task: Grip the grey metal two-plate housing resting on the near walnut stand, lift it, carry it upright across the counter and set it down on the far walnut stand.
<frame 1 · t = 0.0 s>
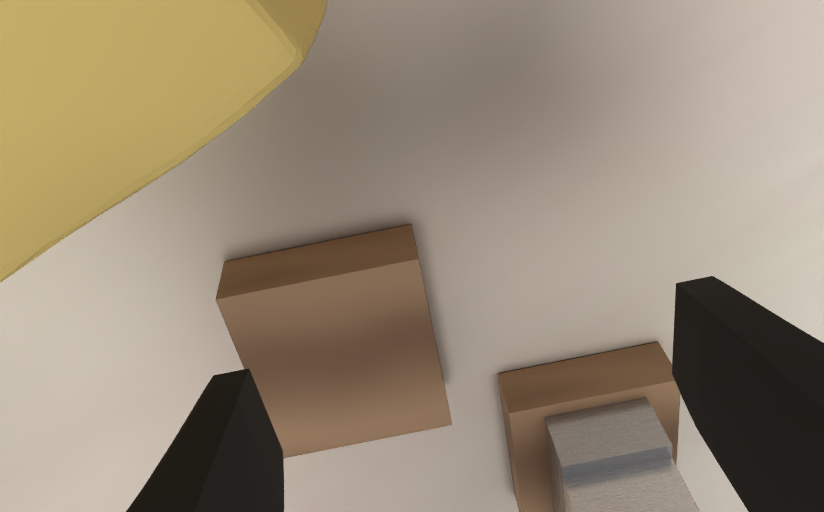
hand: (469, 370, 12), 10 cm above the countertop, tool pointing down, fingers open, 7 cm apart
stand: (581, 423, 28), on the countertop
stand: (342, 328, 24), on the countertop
housing: (597, 463, 26), point 2 cm above the countertop, touching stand
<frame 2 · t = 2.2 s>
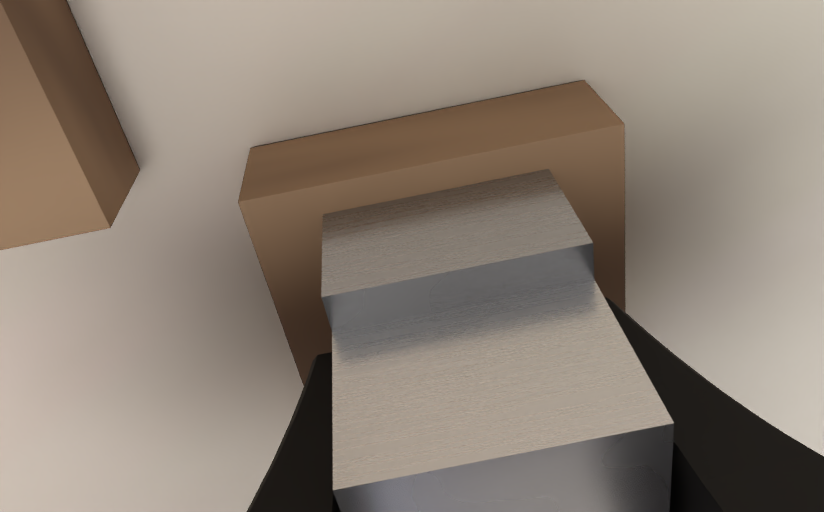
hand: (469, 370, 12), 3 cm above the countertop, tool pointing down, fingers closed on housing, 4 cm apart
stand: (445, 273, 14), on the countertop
housing: (460, 336, 13), point 2 cm above the countertop, touching gripper, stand
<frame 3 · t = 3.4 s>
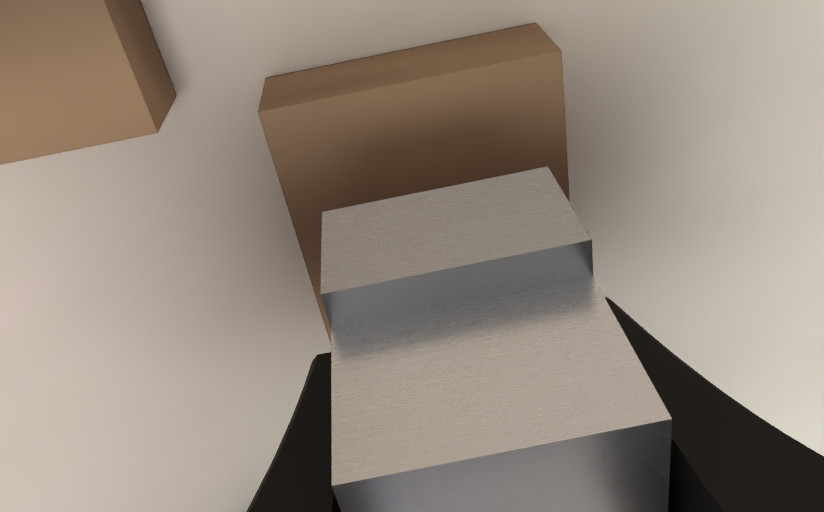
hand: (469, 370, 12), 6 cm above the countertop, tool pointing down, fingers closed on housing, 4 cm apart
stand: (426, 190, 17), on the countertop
housing: (460, 334, 13), point 6 cm above the countertop, touching gripper
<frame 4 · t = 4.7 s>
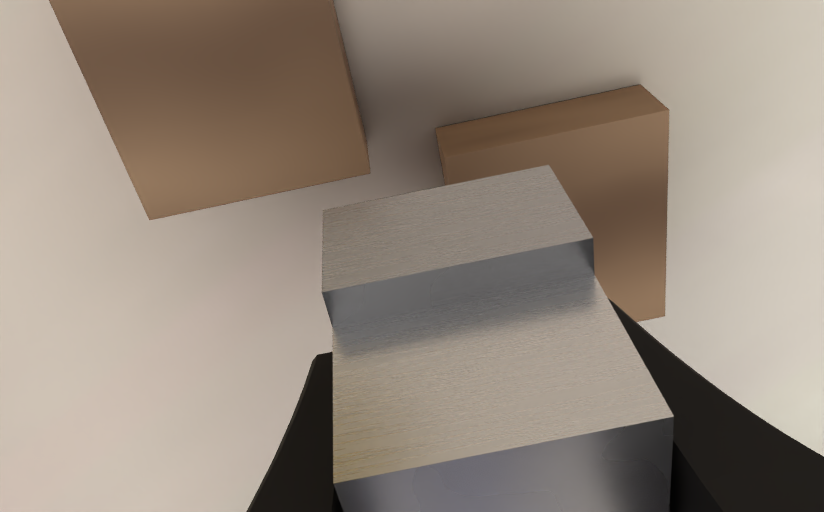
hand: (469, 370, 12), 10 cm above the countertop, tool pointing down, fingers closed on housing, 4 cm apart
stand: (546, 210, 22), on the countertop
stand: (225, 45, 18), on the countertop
housing: (461, 332, 13), point 9 cm above the countertop, touching gripper
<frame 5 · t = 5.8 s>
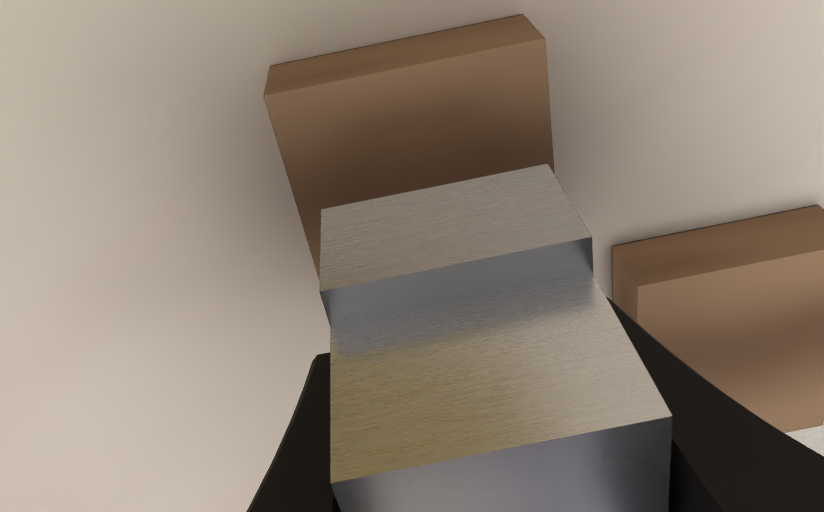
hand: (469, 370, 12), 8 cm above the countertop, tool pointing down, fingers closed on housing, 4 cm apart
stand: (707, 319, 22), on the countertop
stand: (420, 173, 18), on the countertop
housing: (459, 332, 13), point 7 cm above the countertop, touching gripper
when the fingers open (4 cm above the countertop, at t = 7.0 s): housing stays where it is, resting on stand.
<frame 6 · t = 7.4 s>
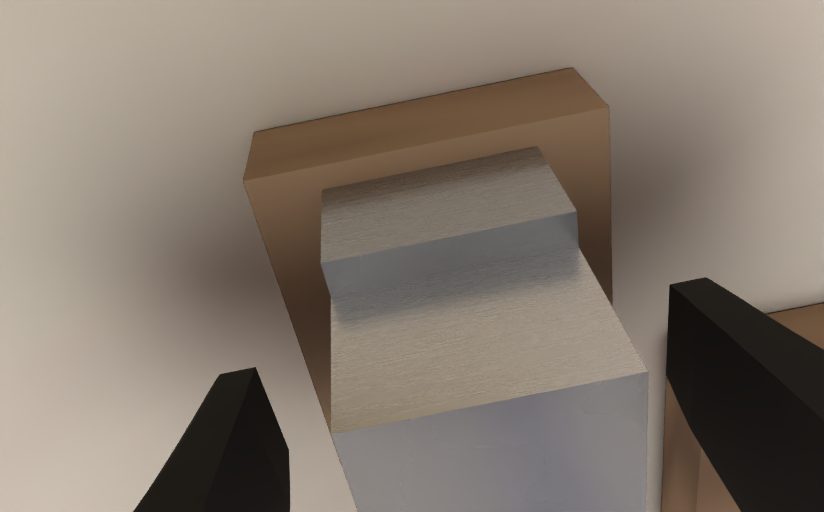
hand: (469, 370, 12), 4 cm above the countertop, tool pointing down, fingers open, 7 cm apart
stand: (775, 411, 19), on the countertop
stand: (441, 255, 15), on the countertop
housing: (454, 309, 13), point 2 cm above the countertop, touching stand
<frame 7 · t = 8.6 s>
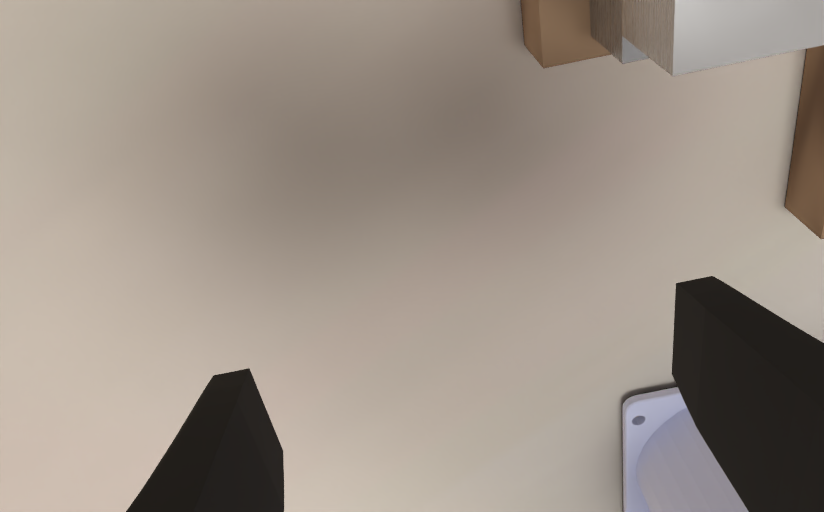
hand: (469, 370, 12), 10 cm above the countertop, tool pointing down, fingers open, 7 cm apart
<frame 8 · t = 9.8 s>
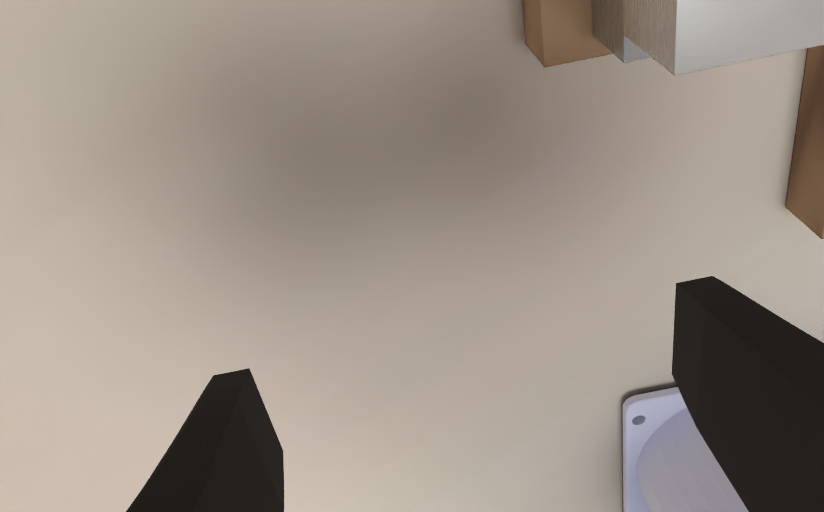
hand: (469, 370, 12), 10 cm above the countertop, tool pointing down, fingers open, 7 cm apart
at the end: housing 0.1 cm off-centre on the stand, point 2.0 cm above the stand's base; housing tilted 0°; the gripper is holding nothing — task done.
